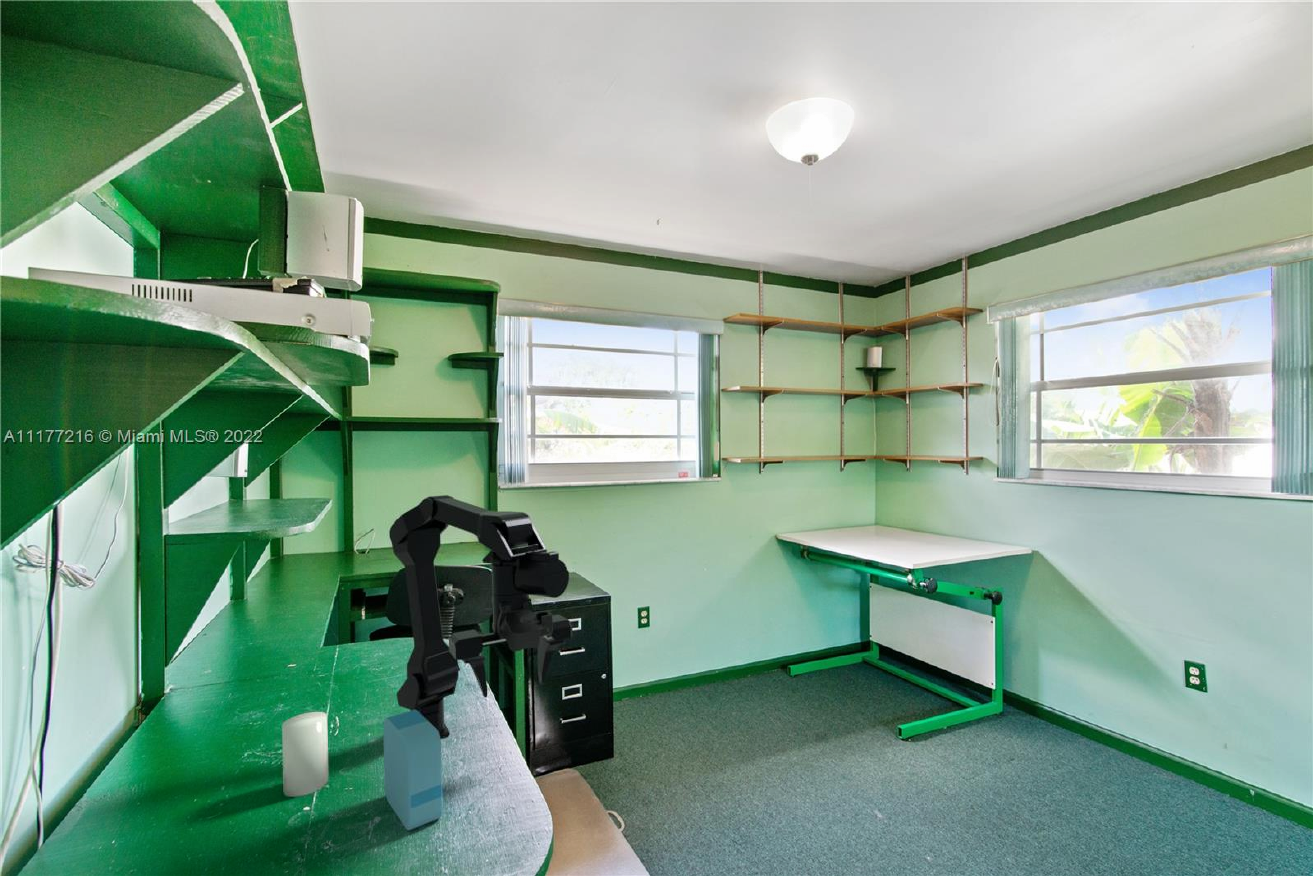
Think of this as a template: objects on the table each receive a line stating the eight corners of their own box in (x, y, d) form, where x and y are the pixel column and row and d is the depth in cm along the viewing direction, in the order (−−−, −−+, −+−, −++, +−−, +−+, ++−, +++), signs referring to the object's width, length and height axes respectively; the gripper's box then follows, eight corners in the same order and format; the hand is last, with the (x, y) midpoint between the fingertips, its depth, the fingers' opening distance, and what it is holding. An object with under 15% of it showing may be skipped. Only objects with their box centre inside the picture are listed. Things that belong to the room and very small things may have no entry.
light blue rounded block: (443, 821, 81) (441, 732, 81) (409, 836, 78) (407, 743, 78) (416, 786, 90) (414, 706, 90) (384, 798, 87) (382, 715, 88)
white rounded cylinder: (283, 783, 92) (282, 718, 93) (327, 771, 95) (326, 708, 96) (282, 801, 87) (281, 732, 88) (329, 788, 90) (327, 722, 91)
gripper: (462, 611, 84) (465, 723, 83) (584, 591, 93) (588, 692, 92) (446, 597, 93) (449, 697, 93) (558, 580, 103) (561, 671, 102)
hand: (514, 689), depth 95 cm, fingers open, 9 cm apart
